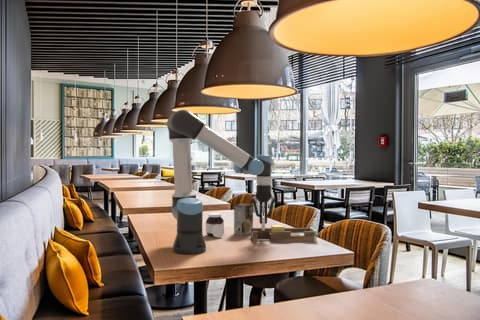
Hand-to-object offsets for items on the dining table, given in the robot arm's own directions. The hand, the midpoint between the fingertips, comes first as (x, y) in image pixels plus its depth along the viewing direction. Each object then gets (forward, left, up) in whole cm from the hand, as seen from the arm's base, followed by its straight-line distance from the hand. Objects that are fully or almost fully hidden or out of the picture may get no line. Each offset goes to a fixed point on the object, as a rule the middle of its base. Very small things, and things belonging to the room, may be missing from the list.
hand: (263, 229), depth 212 cm
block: (0, -8, -2) cm, 8 cm away
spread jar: (+9, +24, -5) cm, 27 cm away
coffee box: (+15, +9, -5) cm, 18 cm away
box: (0, -11, -5) cm, 12 cm away
